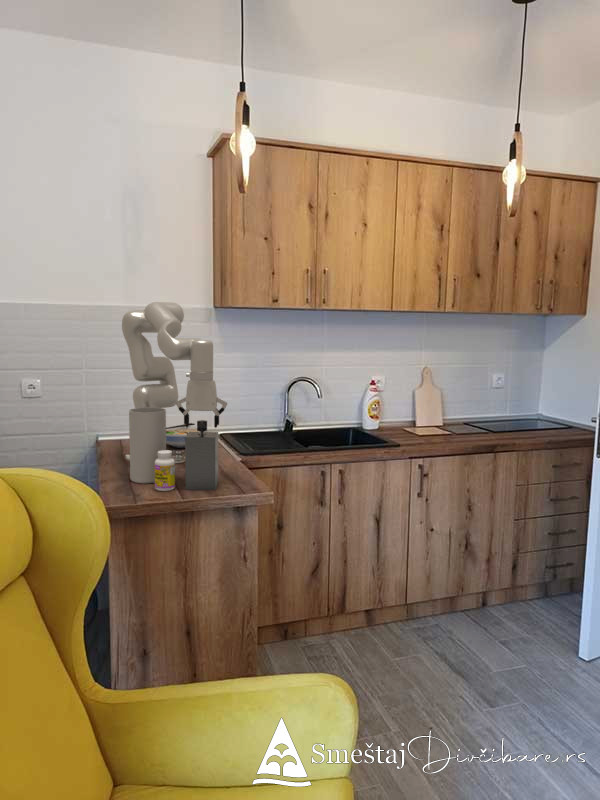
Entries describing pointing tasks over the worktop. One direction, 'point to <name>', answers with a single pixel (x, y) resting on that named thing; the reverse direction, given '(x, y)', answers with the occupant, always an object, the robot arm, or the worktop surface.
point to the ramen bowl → (179, 434)
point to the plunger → (202, 426)
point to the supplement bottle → (164, 471)
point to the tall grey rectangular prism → (201, 461)
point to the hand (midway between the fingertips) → (201, 426)
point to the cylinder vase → (146, 442)
